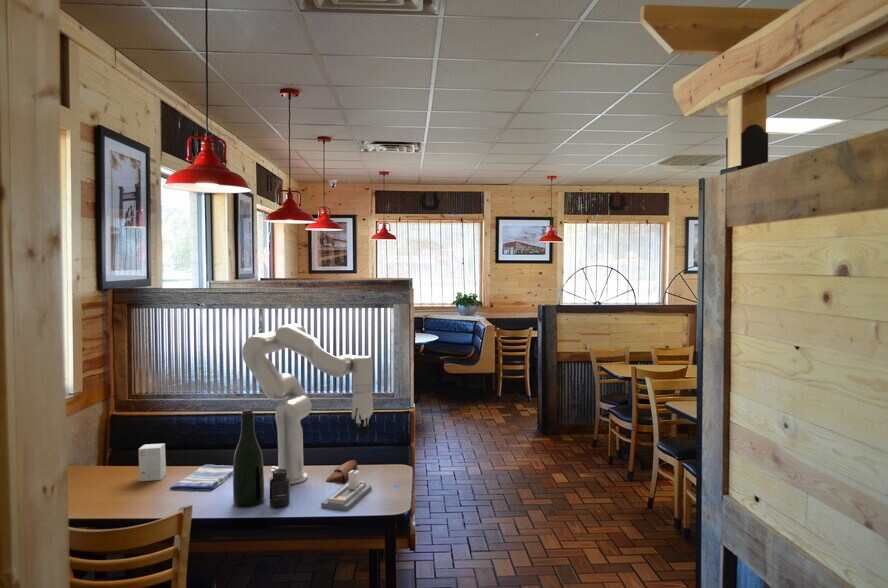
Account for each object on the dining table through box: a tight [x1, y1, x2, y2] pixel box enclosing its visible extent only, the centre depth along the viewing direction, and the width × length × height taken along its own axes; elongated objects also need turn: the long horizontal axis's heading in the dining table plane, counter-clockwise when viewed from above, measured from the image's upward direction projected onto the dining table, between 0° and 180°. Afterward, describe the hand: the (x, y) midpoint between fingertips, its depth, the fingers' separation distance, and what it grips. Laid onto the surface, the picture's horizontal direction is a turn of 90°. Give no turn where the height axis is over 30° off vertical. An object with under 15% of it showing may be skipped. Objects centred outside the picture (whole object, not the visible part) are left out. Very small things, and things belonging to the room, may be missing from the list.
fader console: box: [320, 480, 372, 511], centre depth 201 cm, size 20×10×3 cm, turn 163°
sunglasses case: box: [325, 459, 358, 484], centre depth 225 cm, size 18×7×7 cm
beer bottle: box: [232, 408, 265, 508], centre depth 198 cm, size 10×10×33 cm
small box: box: [137, 443, 167, 482], centre depth 222 cm, size 8×6×13 cm
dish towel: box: [169, 464, 233, 492], centre depth 221 cm, size 17×24×3 cm
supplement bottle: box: [269, 469, 291, 509], centre depth 195 cm, size 7×7×12 cm
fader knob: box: [347, 469, 360, 490], centre depth 206 cm, size 3×3×6 cm
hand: (363, 435), depth 214 cm, fingers closed
